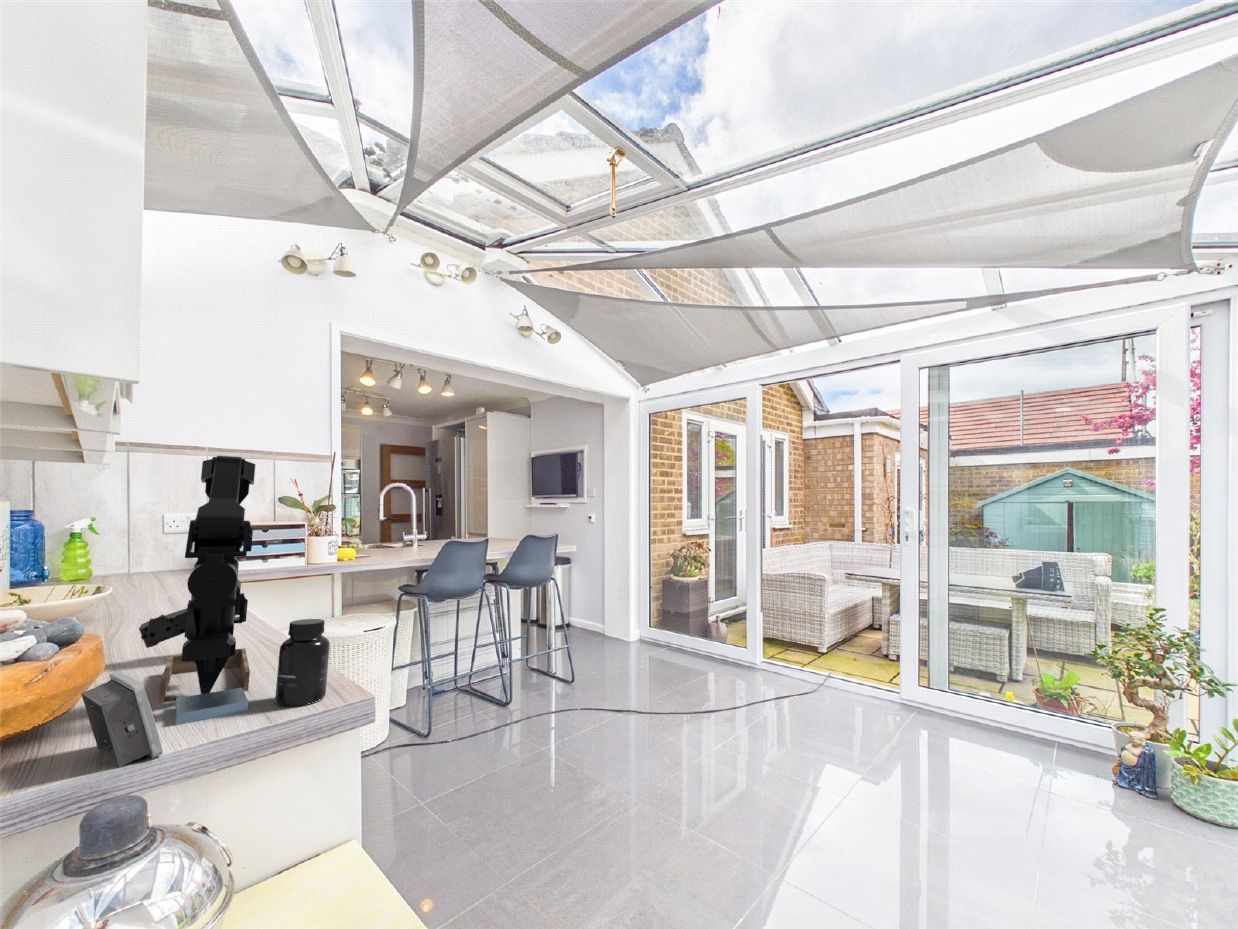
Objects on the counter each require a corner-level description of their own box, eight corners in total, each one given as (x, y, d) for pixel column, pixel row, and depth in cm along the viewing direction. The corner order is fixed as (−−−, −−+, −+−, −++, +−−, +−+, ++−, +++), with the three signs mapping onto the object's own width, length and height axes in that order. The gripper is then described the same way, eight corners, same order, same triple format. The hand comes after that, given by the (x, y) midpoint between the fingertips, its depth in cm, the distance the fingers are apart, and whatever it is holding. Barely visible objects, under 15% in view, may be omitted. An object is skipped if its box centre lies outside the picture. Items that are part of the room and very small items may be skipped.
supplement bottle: (270, 710, 78) (276, 626, 79) (280, 695, 84) (285, 618, 85) (323, 704, 80) (328, 624, 82) (328, 691, 87) (333, 616, 88)
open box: (167, 674, 94) (169, 656, 95) (244, 664, 101) (245, 648, 101) (157, 704, 80) (159, 683, 80) (248, 690, 86) (249, 671, 87)
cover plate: (174, 712, 78) (176, 698, 78) (241, 700, 83) (242, 687, 83) (175, 729, 72) (177, 713, 72) (247, 715, 77) (248, 701, 77)
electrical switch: (164, 757, 62) (162, 678, 63) (104, 780, 58) (103, 695, 58) (136, 739, 68) (135, 666, 68) (80, 758, 63) (78, 680, 63)
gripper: (153, 588, 87) (143, 686, 86) (139, 605, 72) (127, 724, 71) (236, 583, 94) (228, 674, 92) (239, 599, 79) (230, 707, 77)
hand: (205, 693), depth 83 cm, fingers closed
